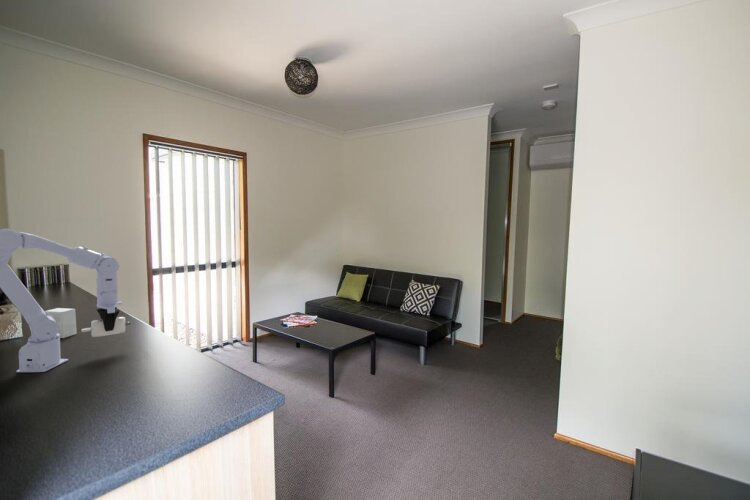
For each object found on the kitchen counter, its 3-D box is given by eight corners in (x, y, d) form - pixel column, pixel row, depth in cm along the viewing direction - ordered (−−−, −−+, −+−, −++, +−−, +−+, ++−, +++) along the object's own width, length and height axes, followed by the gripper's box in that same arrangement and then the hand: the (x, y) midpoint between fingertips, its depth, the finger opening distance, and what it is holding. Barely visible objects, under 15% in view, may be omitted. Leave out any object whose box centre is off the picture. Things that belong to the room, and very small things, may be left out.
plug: (129, 329, 128) (128, 315, 127) (131, 331, 125) (130, 317, 125) (81, 336, 118) (81, 322, 118) (82, 339, 116) (82, 324, 115)
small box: (77, 334, 141) (76, 308, 140) (63, 338, 135) (62, 311, 135) (59, 333, 142) (58, 307, 141) (44, 337, 136) (43, 310, 135)
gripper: (125, 292, 119) (126, 331, 119) (117, 286, 129) (118, 322, 130) (99, 295, 114) (100, 336, 115) (93, 288, 124) (94, 326, 125)
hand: (108, 329), depth 122 cm, fingers closed on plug, 3 cm apart
